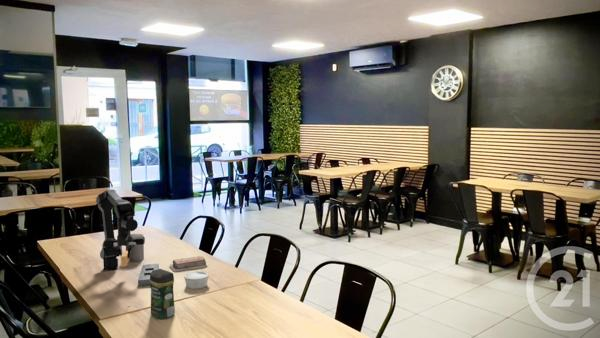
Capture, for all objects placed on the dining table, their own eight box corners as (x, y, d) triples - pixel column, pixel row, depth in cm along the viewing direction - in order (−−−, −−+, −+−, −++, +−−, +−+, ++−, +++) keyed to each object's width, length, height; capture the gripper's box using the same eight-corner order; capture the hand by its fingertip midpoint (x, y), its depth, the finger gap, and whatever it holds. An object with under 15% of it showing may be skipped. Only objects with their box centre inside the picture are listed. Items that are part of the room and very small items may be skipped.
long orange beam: (121, 266, 224) (120, 256, 223) (124, 260, 234) (123, 251, 233) (126, 266, 225) (126, 256, 224) (129, 260, 234) (128, 250, 234)
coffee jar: (147, 315, 188) (146, 270, 186) (164, 308, 194) (163, 265, 192) (161, 321, 182) (159, 275, 180) (178, 315, 188) (177, 270, 186)
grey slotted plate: (155, 285, 222) (155, 279, 222) (138, 286, 220) (138, 280, 220) (158, 269, 245) (158, 263, 245) (142, 270, 243) (142, 264, 243)
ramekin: (212, 283, 225) (212, 272, 224) (200, 291, 214) (200, 280, 214) (192, 280, 229) (192, 270, 228) (179, 288, 218) (179, 277, 218)
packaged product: (201, 254, 258) (207, 259, 249) (201, 262, 258) (207, 267, 250) (169, 258, 249) (173, 263, 241) (169, 267, 250) (173, 272, 241)
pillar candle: (122, 260, 260) (121, 234, 258) (134, 255, 269) (133, 230, 267) (135, 263, 256) (135, 236, 254) (147, 258, 265) (147, 232, 263)
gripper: (100, 232, 217) (102, 264, 219) (142, 230, 222) (143, 262, 223) (104, 227, 228) (106, 257, 230) (144, 225, 232) (145, 255, 234)
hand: (125, 258), depth 229 cm, fingers closed on long orange beam, 2 cm apart
